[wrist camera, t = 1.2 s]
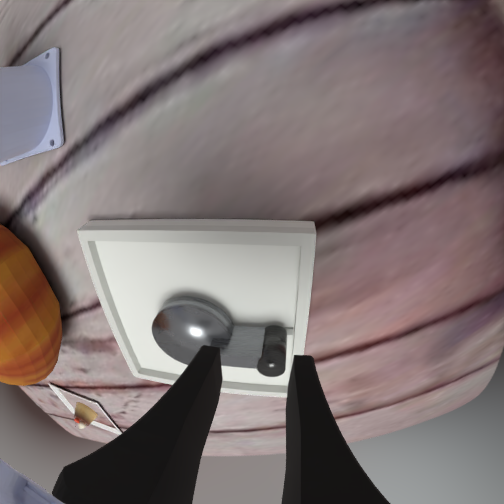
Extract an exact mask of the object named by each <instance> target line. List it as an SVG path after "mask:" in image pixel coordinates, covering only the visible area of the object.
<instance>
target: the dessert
mask: <svg viewBox="0 0 504 504" xmlns="http://www.w3.org/2000/svg"><path fill="white" fill-rule="evenodd" d="M48 385H49V386H50V387H51V388H52V390H53V391H54V392H55V393H56V395H57V396H58V397H59V398H60V400H61V401H62V402H63V403H64V404H65V405H66V407H67V408H68V409H69V410H70V411H71V412H72V413H73V414H74V418H75V419H74V421H75V422H77V423H79V428H80V429H83V428H85V427H86V426H89V425H90V424H92V425H94V426H97V427H99V428H102V429H105V430H107V431H110V432H113V433H116V434H119V435H121V434H122V432H121V431H120V430H119V428H118V427H117V426H116V425H115V424H114V423H113V421H112V420H111V419H110V418H109V416H108V415H107V414H106V413H105V412H104V410H103V409H102V408H101V406H100V405H99V404H98V403H97V402H95V401H92V400H89V399H87V398H84V397H82V396H79V395H76V394H74V393H72V392H69V391H67V390H64V389H62V388H60V387H57V386H55V385H52V384H49V383H48ZM58 389H59V390H62V391H64V392H66V393H69V394H71V395H73V396H76V397H78V398H81V399H84V400H86V401H89V402H91V403H94V404H97V405H98V407H99V408H100V409H101V411H102V412H103V413H104V414H105V415H106V417H107V418H108V419H109V420H110V421H111V423H112V424H113V425H114V426H115V427H116V429H114V428H111V427H109V426H106V425H103V424H101V423H98V422H95V421H94V419H96V418H97V417H98V415H97V414H96V412H94V411H93V410H92V409H91V408H89V407H88V406H86V405H84V404H82V403H80V402H77V403H76V408H75V409H74V408H73V407H72V406H71V404H70V403H69V402H68V401H67V400H66V398H65V397H64V396H63V395H62V393H61V392H60V391H59V390H58ZM75 427H76V426H75Z"/></svg>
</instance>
